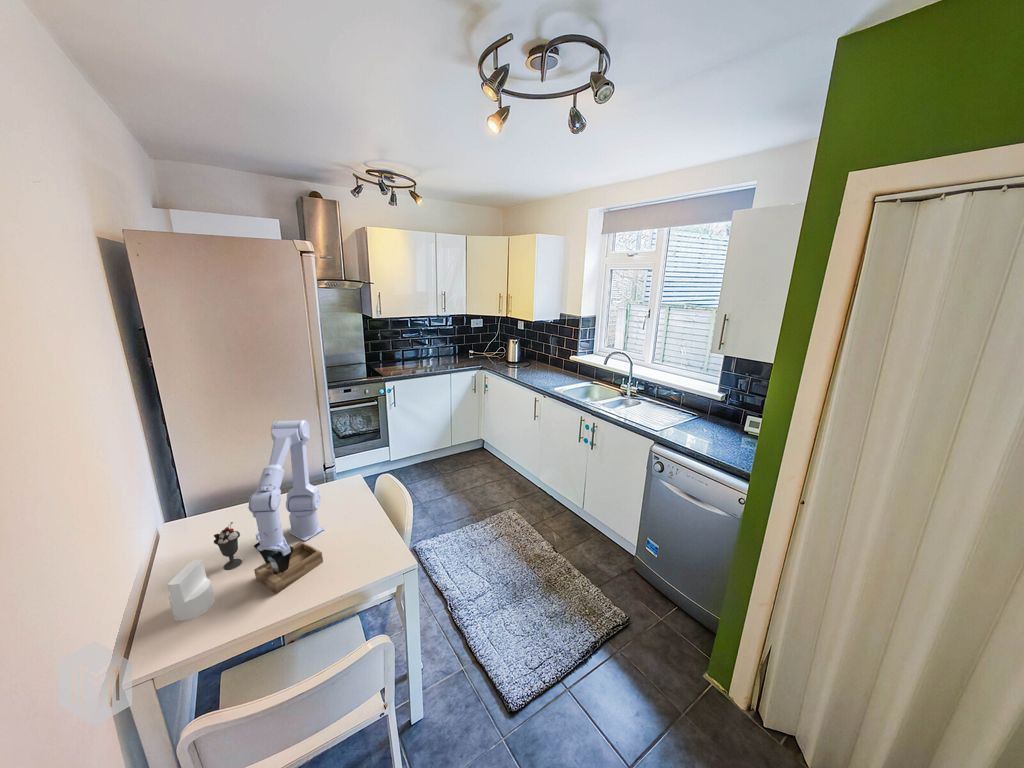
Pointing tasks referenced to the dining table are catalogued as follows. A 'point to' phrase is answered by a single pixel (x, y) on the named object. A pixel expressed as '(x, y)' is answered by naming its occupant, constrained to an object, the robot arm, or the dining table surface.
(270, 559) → the peg
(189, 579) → the base with upright slab
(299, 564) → the keyhole board
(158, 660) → the dining table surface
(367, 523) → the dining table surface
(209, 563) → the dining table surface
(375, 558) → the dining table surface
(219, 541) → the sundae
